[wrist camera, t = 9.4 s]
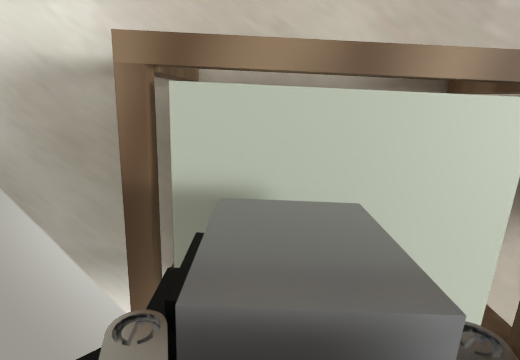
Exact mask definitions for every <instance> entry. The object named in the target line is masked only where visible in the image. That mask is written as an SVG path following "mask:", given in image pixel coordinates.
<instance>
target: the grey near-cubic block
mask: <svg viewBox="0 0 520 360" xmlns="http://www.w3.org/2000/svg"><path fill="white" fill-rule="evenodd" d="M175 310H176V348H177V360H456V357H457V353H458V349H459V345H460V341H461V336H462V332H463V328H464V324H465V320H466V315H465V314H464V313H463V311H462V310H461V309H460V308H459V307H458V306H457V305H456V304H455V303H454V302H453V301H452V300H451V299H450V298H449V297H448V296H447V295H446V294H445V293H444V292H443V290H442V289H441V288H440V287H439V286H438V285H437V284H436V283H435V282H434V281H433V280H432V279H431V278H430V277H429V276H428V275H427V274H426V273H425V272H424V271H423V270H422V268H421V267H420V266H419V265H418V264H417V263H416V262H415V261H414V260H413V259H412V258H411V257H410V256H409V255H408V254H407V253H406V252H405V251H404V250H403V249H402V248H401V246H400V245H399V244H398V243H397V242H396V241H395V240H394V239H393V238H392V237H391V236H390V235H389V234H388V233H387V232H386V231H385V230H384V229H383V228H382V227H381V226H380V224H379V223H378V222H377V221H376V220H375V219H374V218H373V217H372V216H371V215H370V214H369V213H368V212H367V211H366V210H365V209H364V208H363V207H362V206H361V205H360V204H359V203H338V202H314V201H289V200H264V199H240V198H218V201H217V203H216V206H215V208H214V211H213V213H212V215H211V218H210V220H209V223H208V225H207V228H206V230H205V233H204V235H203V238H202V240H201V243H200V245H199V248H198V250H197V253H196V255H195V258H194V260H193V263H192V265H191V268H190V270H189V273H188V275H187V278H186V280H185V283H184V285H183V288H182V290H181V293H180V295H179V298H178V300H177V302H176V305H175Z"/></svg>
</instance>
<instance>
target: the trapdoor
mask: <svg viewBox="0 0 520 360" xmlns="http://www.w3.org/2000/svg"><path fill="white" fill-rule="evenodd" d="M169 106H170V141H171V177H172V212H173V248H174V267H175V268H180V266H181V264H182V261H183V259H184V257H185V255H186V253H187V251H188V249H189V246H190V244H191V242H192V240H193V238H194V236H195V234H196V232H200V233H205V230H206V228H207V225H208V223H209V220H210V218H211V215H212V213H213V211H214V208H215V206H216V203H217V201H218V198H240V199H264V200H289V201H314V202H338V203H359V204H360V205H361V206H362V207H363V208H364V209H365V210H366V211H367V212H368V213H369V214H370V215H371V216H372V217H373V218H374V219H375V220H376V221H377V222H378V223H379V224H380V226H381V227H382V228H383V229H384V230H385V231H386V232H387V233H388V234H389V235H390V236H391V237H392V238H393V239H394V240H395V241H396V242H397V243H398V244H399V245H400V246H401V248H402V249H403V250H404V251H405V252H406V253H407V254H408V255H409V256H410V257H411V258H412V259H413V260H414V261H415V262H416V263H417V264H418V265H419V266H420V267H421V268H422V270H423V271H424V272H425V273H426V274H427V275H428V276H429V277H430V278H431V279H432V280H433V281H434V282H435V283H436V284H437V285H438V286H439V287H440V288H441V289H442V290H443V292H444V293H445V294H446V295H447V296H448V297H449V298H450V299H451V300H452V301H453V302H454V303H455V304H456V305H457V306H458V307H459V308H460V309H461V310H462V311H463V313H464V314H465V315H466V320H465V321H467V322H471V323H474V324H477V325H480V326H481V323H482V319H483V315H484V311H485V307H486V303H487V300H488V296H489V292H490V288H491V284H492V281H493V277H494V273H495V269H496V265H497V261H498V258H499V254H500V250H501V246H502V242H503V239H504V235H505V231H506V227H507V223H508V220H509V216H510V212H511V208H512V204H513V200H514V197H515V193H516V189H517V185H518V181H519V178H520V97H512V96H491V95H470V94H448V93H427V92H405V91H384V90H362V89H341V88H319V87H298V86H276V85H255V84H233V83H212V82H190V81H169Z"/></svg>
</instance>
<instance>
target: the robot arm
mask: <svg viewBox="0 0 520 360" xmlns="http://www.w3.org/2000/svg"><path fill="white" fill-rule="evenodd" d="M203 235H204V233H200V232H196V234H195V236H194V238H193V240H192V242H191V244H190V246H189V249H188V251H187V253H186V255H185V257H184V259H183V261H182V264H181V266H180V268H175V267H169V268H168V269H167V270H166V272H165V274H164V276H163V278H162V280H161V282H160V283H159V285H158V287H157V289H156V291H155V293H154V295H153V297H152V298H151V300H150V302H149V304H148V306H147V308H146V310H136V311H132V312H129V313H126V314H124V315H122V316H120V317H119V318H117V319H115V320H114V321H113V322H112V323H111V324H110V325H109V326H108V328H107V330H106V332H105V335H104V339H103V343H102V347H101V348H99V349H97V350H95V351H93V352H91V353H89V354H87V355H85V356H83V357H81V358H79V359H77V360H177V348H176V310H175V305H176V302H177V300H178V298H179V295H180V293H181V290H182V288H183V285H184V283H185V280H186V278H187V275H188V273H189V270H190V268H191V265H192V263H193V260H194V258H195V255H196V253H197V250H198V248H199V245H200V243H201V240H202V238H203ZM456 360H518V359H517V357H516V356H515V354H514V353H513V351H512V350H511V348H510V347H509V345H508V344H507V343H506V342H505V341H504V340H503V339H502V338H501V337H499V336H498V335H497V334H495V333H494V332H492V331H490V330H489V329H487V328H485V327H482V326H480V325H477V324H474V323H471V322H467V321H465V324H464V328H463V332H462V336H461V341H460V345H459V349H458V353H457V357H456Z"/></svg>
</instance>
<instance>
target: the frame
mask: <svg viewBox="0 0 520 360" xmlns="http://www.w3.org/2000/svg"><path fill="white" fill-rule="evenodd" d="M111 33H112V47H113V62H114V76H115V90H116V105H117V119H118V133H119V148H120V162H121V176H122V190H123V205H124V219H125V233H126V248H127V262H128V276H129V291H130V305H131V312H132V311H136V310H146V308H147V306H148V304H149V302H150V300H151V298H152V297H153V295H154V293H155V291H156V289H157V287H158V285H159V283H160V282H161V280H162V265H161V239H160V214H159V189H158V163H157V138H156V113H155V87H154V76H156V77H161V78H166V79H171V80H176V81H196V82H198V69H219V70H240V71H261V72H282V73H303V74H324V75H345V76H366V77H387V78H408V79H429V80H450V82H449V87H448V92H447V93H454V94H520V50H518V49H498V48H478V47H458V46H438V45H418V44H398V43H378V42H358V41H338V40H319V39H299V38H279V37H259V36H239V35H219V34H199V33H179V32H159V31H139V30H120V29H111ZM172 267H174V263H173V265H172ZM481 326H482V327H485V328H487V329H489V330H490V331H492V332H494V333H495V334H497V335H498V336H499V337H501V338H502V339H503V340H504V341H505V342H506V343H507V344H508V345H509V347H510V348H511V350H512V351H513V353H514V354H515V356H516V357H517V359H518V360H520V302H519V306H518V309H517V312H516V316H515V319H514V323H513V326H512V327H511V326H510V325H509V324H508V323H507V322H506V321H504V320H503V319H502V318H501V317H500V316H499V315H498V314H497V313H496V312H494V311H493V310H492V309H491V308H490V307H489V306H488V305H487V304H486V307H485V311H484V315H483V319H482V323H481Z"/></svg>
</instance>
